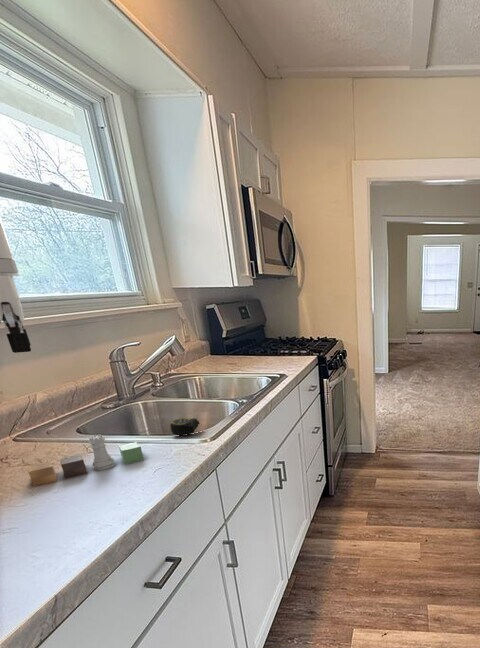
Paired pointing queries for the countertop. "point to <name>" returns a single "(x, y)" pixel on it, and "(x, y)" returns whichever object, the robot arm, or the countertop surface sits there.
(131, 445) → the sage block
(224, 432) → the countertop surface
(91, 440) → the rook chess piece
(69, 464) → the walnut block
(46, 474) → the maple block
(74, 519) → the countertop surface
